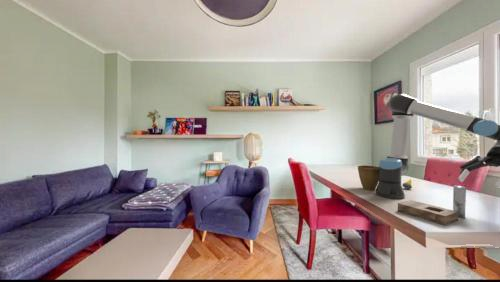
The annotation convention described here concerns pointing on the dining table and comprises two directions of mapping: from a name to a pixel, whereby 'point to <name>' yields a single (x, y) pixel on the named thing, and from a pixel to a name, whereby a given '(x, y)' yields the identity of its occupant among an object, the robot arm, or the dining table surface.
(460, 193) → the metal peg
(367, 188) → the plant pot
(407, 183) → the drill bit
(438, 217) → the tool block
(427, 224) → the dining table surface
